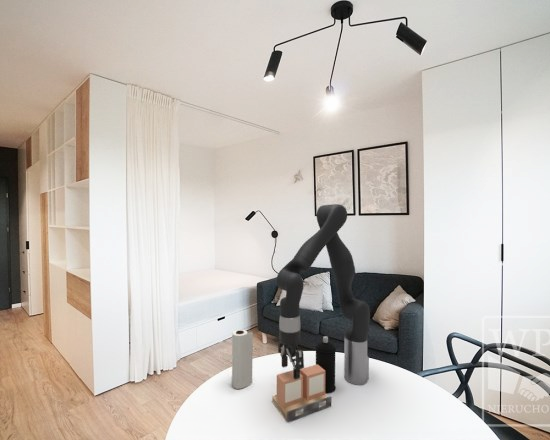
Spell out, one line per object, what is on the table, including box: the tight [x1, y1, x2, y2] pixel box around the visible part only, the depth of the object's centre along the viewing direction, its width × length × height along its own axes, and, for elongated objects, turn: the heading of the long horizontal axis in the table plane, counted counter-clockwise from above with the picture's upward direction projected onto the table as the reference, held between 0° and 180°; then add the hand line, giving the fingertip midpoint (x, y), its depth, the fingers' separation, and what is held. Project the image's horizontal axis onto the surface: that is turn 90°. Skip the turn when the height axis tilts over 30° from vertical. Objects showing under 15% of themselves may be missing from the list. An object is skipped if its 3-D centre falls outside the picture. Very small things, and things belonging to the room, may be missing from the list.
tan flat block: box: [271, 394, 332, 423], centre depth 99 cm, size 18×12×3 cm, turn 117°
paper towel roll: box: [231, 329, 254, 390], centre depth 110 cm, size 7×6×21 cm
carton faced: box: [300, 364, 326, 401], centre depth 102 cm, size 8×5×9 cm, turn 117°
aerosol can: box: [315, 335, 337, 394], centre depth 109 cm, size 8×8×20 cm
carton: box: [276, 370, 303, 408], centre depth 98 cm, size 8×5×9 cm, turn 117°
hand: (290, 372), depth 98 cm, fingers open, 8 cm apart
